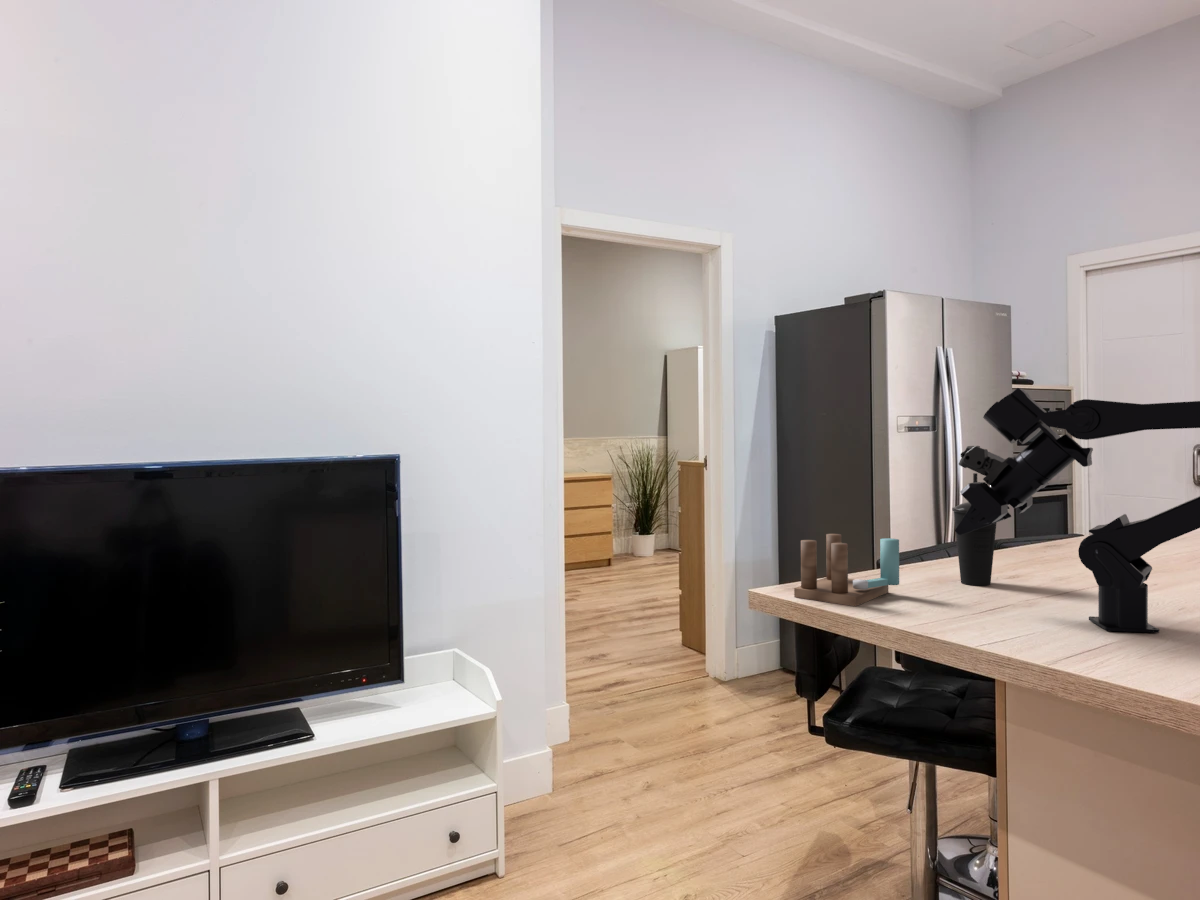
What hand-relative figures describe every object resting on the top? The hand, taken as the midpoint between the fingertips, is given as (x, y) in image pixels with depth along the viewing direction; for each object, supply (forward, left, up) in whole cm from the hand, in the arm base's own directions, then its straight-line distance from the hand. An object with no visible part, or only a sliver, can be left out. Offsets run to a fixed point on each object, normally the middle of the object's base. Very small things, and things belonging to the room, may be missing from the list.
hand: (957, 532), depth 121 cm
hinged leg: (+3, +12, -9) cm, 16 cm away
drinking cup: (+18, -7, -12) cm, 23 cm away
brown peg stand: (+5, +17, -12) cm, 21 cm away
